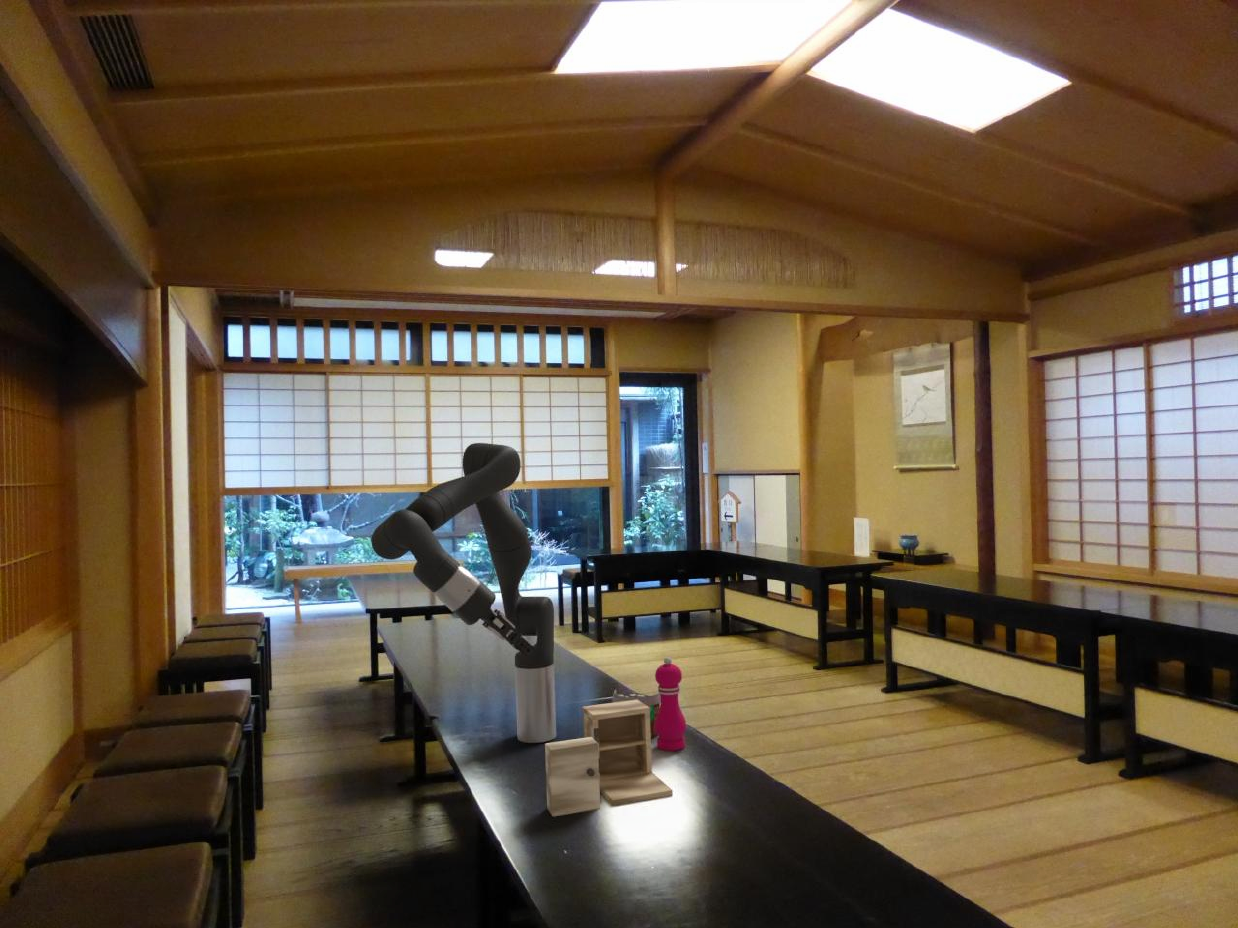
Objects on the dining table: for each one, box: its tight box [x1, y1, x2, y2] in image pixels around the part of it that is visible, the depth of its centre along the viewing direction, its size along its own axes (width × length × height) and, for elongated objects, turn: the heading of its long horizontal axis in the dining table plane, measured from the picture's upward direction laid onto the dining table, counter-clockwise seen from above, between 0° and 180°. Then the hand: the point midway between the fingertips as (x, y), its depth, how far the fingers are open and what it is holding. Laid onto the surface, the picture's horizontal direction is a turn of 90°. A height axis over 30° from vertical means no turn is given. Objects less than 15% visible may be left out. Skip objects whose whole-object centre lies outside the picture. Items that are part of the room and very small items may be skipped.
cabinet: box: [582, 700, 673, 807], centre depth 164 cm, size 18×12×14 cm
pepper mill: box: [654, 656, 687, 752], centre depth 186 cm, size 7×7×20 cm
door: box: [544, 737, 601, 817], centre depth 153 cm, size 5×9×12 cm, turn 110°
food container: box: [612, 689, 661, 739], centre depth 194 cm, size 12×6×10 cm, turn 68°
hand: (526, 650), depth 157 cm, fingers open, 8 cm apart
